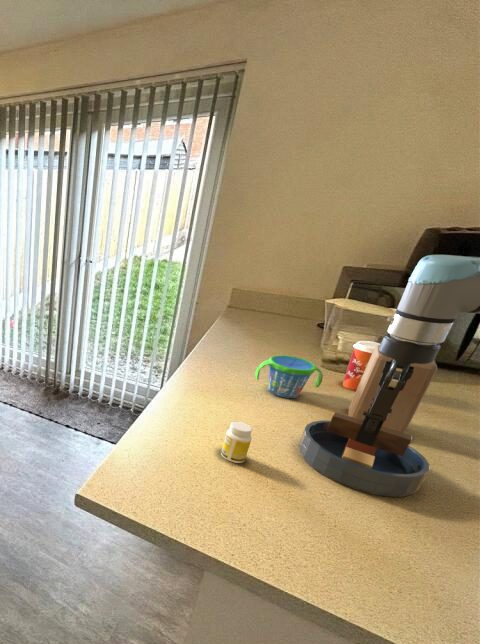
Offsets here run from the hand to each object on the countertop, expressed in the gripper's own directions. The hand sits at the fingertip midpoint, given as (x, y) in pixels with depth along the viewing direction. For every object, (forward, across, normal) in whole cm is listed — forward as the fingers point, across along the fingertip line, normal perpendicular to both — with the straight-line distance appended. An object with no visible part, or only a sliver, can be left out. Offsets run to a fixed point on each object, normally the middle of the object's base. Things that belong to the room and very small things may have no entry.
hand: (364, 439), depth 84 cm
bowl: (+7, 0, 0) cm, 7 cm away
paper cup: (+7, -48, -5) cm, 49 cm away
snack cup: (+7, -28, -19) cm, 35 cm away
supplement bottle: (+7, +16, -19) cm, 26 cm away
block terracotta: (+6, -5, 0) cm, 8 cm away
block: (+7, -25, +1) cm, 26 cm away
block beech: (+6, +4, 0) cm, 8 cm away
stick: (0, 0, 0) cm, 0 cm away
